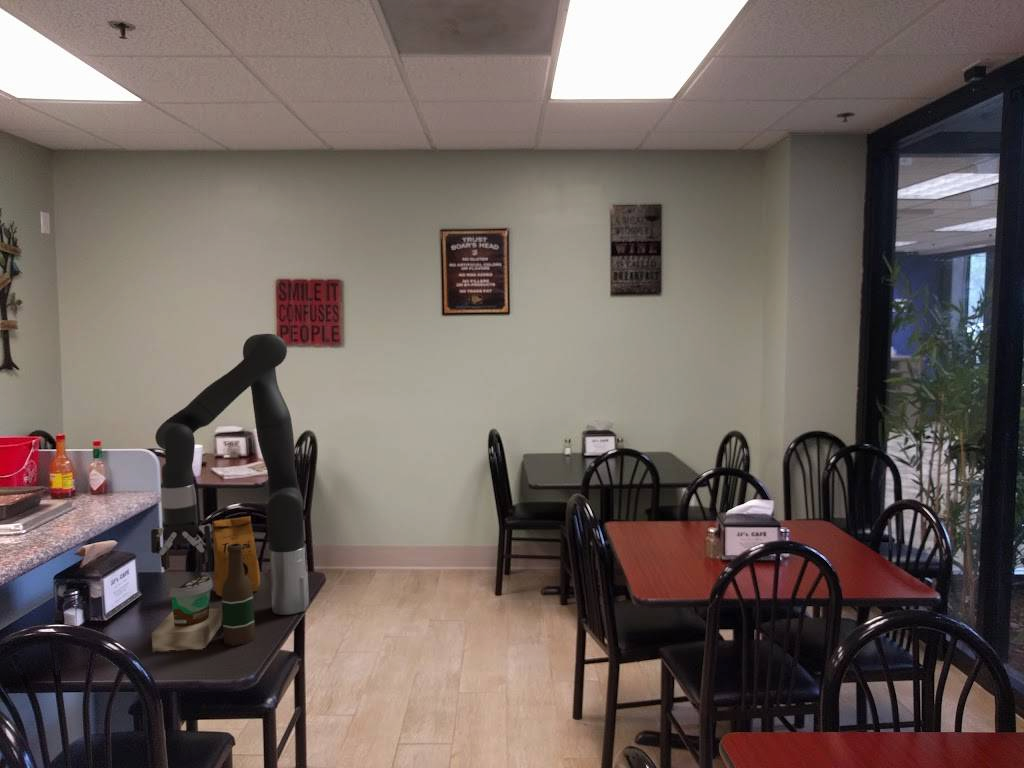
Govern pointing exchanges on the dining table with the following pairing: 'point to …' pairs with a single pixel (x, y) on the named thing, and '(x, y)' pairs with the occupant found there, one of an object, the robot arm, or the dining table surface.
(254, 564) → the coffee package
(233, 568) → the beer bottle
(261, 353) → the robot arm
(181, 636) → the birch block
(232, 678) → the dining table surface
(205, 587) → the food container
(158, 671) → the dining table surface
